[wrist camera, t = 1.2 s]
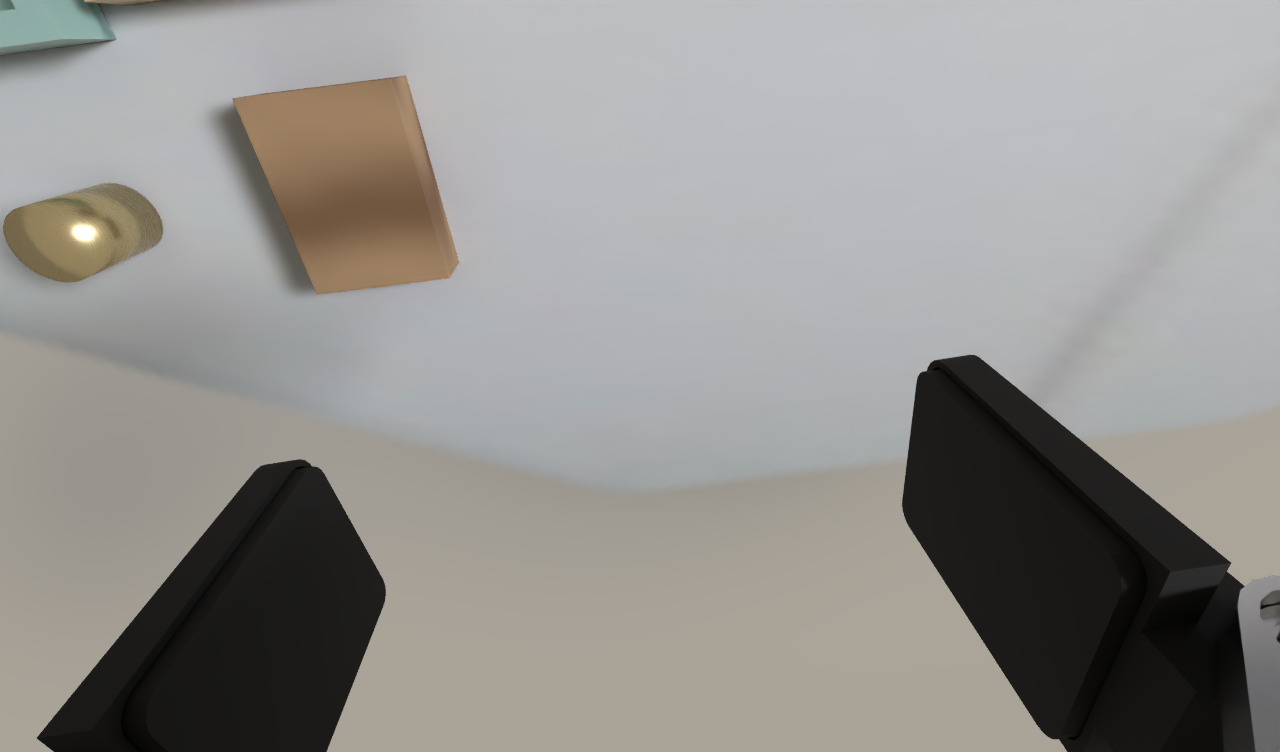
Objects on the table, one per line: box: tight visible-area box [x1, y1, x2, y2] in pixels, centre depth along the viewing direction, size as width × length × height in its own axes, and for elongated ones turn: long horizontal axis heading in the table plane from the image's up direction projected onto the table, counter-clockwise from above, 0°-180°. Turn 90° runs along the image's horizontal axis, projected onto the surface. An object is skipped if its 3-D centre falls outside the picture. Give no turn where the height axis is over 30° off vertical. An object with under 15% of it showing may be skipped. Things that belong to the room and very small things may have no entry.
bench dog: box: [3, 183, 163, 282], centre depth 24 cm, size 3×3×4 cm
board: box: [233, 76, 459, 295], centre depth 24 cm, size 8×6×2 cm
